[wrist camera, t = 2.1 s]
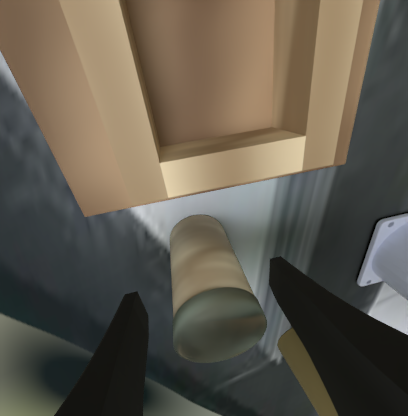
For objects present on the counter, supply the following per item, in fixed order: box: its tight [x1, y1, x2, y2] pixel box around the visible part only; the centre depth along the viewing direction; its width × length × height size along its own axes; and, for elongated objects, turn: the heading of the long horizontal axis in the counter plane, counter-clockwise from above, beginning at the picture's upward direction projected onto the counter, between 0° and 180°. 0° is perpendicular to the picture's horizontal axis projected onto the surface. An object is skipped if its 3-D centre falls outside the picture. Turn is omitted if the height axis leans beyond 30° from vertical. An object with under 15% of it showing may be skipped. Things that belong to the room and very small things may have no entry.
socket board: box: [0, 0, 380, 217], centre depth 8 cm, size 16×12×4 cm
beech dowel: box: [170, 215, 267, 363], centre depth 12 cm, size 4×4×7 cm
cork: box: [278, 328, 338, 416], centre depth 20 cm, size 6×6×11 cm
